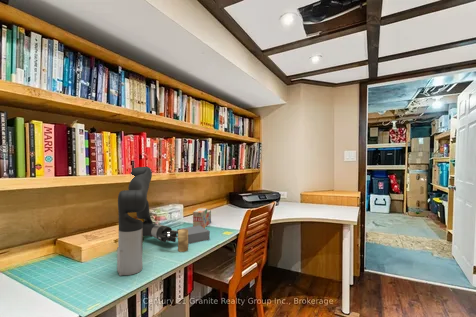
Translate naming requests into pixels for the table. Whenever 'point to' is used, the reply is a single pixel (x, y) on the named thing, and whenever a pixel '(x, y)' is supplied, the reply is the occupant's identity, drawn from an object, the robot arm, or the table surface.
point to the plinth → (197, 234)
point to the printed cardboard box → (201, 217)
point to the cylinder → (182, 240)
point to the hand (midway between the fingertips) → (181, 237)
